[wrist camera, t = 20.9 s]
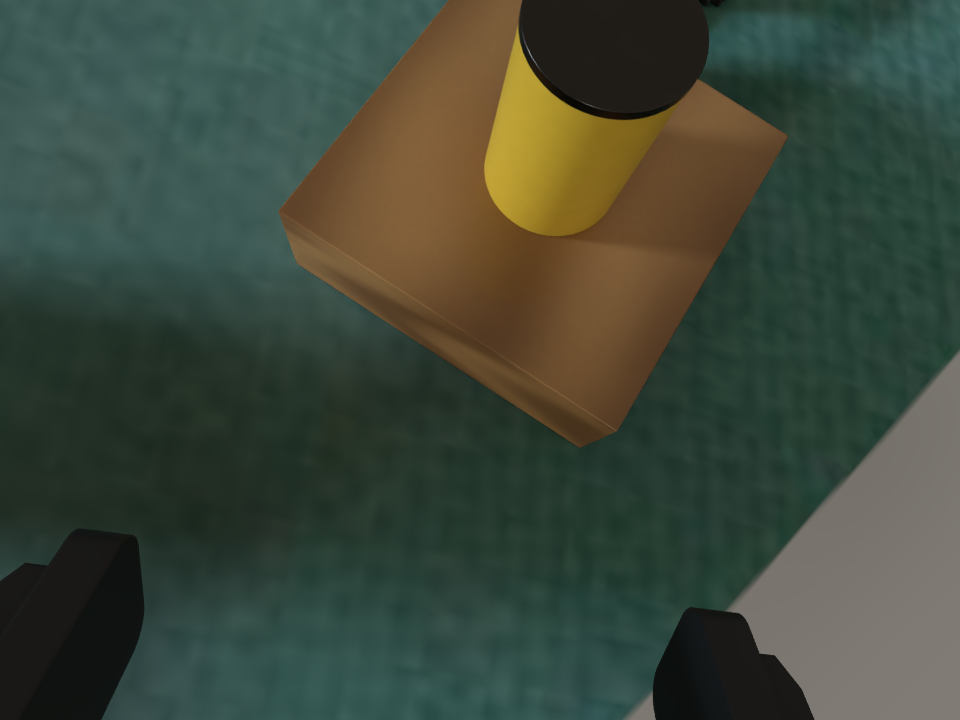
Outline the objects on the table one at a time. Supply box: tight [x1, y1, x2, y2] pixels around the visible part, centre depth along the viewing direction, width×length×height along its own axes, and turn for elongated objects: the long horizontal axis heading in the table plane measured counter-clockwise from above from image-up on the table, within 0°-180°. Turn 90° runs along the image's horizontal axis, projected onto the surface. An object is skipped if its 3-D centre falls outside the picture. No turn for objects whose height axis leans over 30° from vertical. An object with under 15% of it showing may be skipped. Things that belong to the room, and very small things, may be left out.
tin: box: [484, 0, 709, 236], centre depth 23 cm, size 5×5×8 cm
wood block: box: [279, 0, 788, 448], centre depth 29 cm, size 14×14×5 cm
